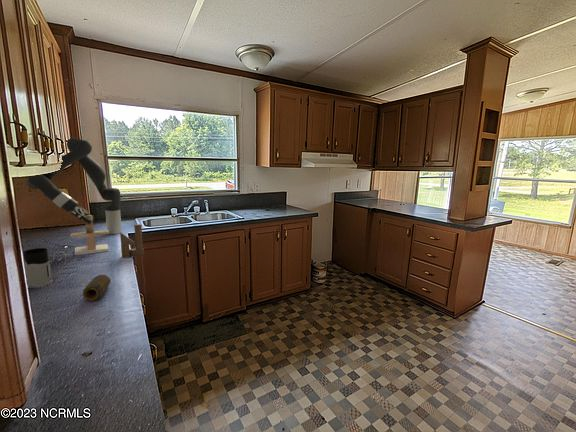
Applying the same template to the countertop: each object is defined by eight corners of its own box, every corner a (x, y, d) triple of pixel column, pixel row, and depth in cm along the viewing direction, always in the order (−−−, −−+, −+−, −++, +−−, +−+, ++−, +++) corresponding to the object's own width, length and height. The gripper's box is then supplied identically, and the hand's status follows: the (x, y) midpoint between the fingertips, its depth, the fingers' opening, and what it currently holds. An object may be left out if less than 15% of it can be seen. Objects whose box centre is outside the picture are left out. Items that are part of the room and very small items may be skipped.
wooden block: (121, 256, 156) (119, 225, 152) (142, 253, 162) (141, 223, 159) (122, 258, 153) (120, 226, 150) (144, 254, 160) (142, 224, 156)
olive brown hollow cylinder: (104, 301, 106) (103, 285, 105) (82, 304, 104) (81, 287, 103) (112, 285, 120) (110, 270, 119) (92, 287, 117) (91, 272, 116)
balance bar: (71, 235, 158) (69, 216, 156) (108, 232, 169) (106, 214, 167) (70, 237, 154) (68, 217, 152) (108, 234, 165) (107, 215, 163)
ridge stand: (75, 249, 163) (73, 234, 161) (107, 246, 172) (106, 231, 171) (74, 255, 154) (73, 238, 153) (108, 251, 164) (107, 235, 162)
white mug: (29, 281, 120) (25, 248, 117) (70, 277, 126) (67, 245, 124) (22, 290, 112) (17, 255, 109) (66, 284, 119) (62, 251, 116)
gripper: (67, 199, 148) (95, 219, 155) (74, 196, 161) (99, 214, 168) (56, 209, 147) (84, 228, 154) (64, 205, 159) (89, 223, 166)
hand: (92, 221), depth 161 cm, fingers open, 8 cm apart
